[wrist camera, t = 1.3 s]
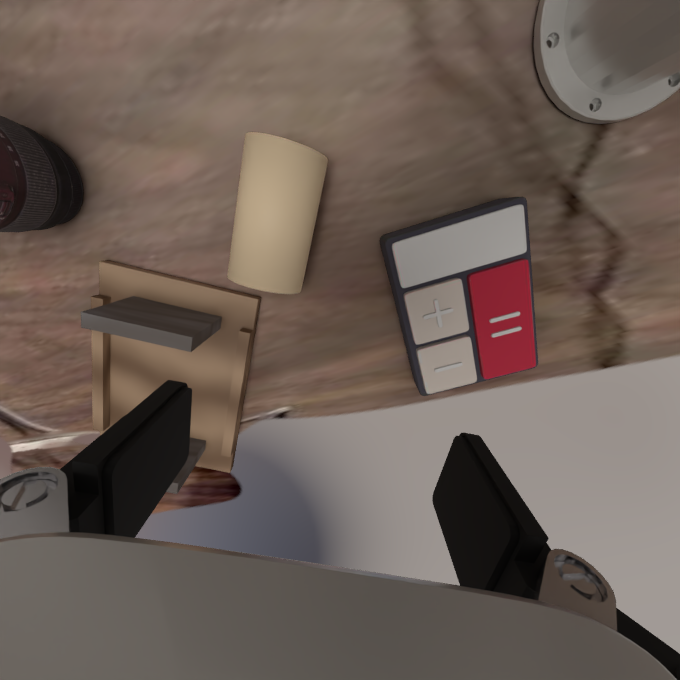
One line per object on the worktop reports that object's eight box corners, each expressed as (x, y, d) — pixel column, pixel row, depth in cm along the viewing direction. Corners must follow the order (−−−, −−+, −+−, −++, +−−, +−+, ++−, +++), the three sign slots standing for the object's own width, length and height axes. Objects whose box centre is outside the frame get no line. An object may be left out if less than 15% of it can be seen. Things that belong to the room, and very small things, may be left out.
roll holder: (107, 260, 28) (35, 268, 22) (260, 297, 29) (237, 316, 23) (106, 441, 35) (51, 490, 28) (232, 466, 36) (207, 520, 29)
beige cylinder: (277, 155, 26) (226, 127, 21) (341, 167, 24) (301, 139, 19) (259, 272, 30) (210, 273, 24) (313, 291, 28) (273, 296, 22)
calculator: (423, 402, 29) (384, 240, 24) (412, 379, 33) (378, 236, 28) (544, 371, 28) (533, 193, 22) (518, 351, 32) (503, 196, 26)
